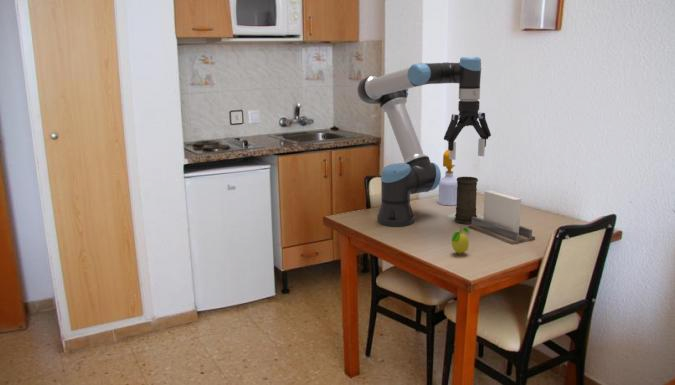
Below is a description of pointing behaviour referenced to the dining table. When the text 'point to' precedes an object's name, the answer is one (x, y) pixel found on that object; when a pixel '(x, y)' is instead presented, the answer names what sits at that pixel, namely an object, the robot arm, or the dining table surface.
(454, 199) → the soap bottle
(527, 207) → the dining table surface
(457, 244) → the lemon
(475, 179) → the container
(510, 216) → the door panel
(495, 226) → the track plinth
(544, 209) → the dining table surface
